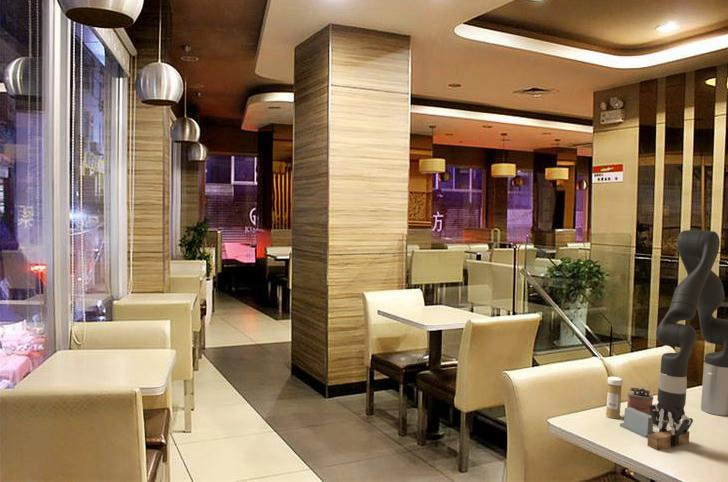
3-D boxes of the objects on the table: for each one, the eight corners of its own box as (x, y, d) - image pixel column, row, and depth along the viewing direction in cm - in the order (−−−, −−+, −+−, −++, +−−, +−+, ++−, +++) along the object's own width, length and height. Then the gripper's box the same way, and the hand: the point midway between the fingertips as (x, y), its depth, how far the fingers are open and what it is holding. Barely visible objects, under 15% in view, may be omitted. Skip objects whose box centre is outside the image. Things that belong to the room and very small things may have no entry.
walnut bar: (679, 438, 181) (680, 427, 180) (688, 442, 178) (689, 431, 177) (647, 446, 175) (648, 434, 175) (656, 450, 172) (657, 438, 172)
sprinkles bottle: (622, 417, 197) (625, 379, 196) (614, 419, 195) (617, 381, 194) (610, 413, 201) (613, 375, 200) (602, 415, 199) (605, 377, 198)
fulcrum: (630, 423, 192) (631, 406, 191) (656, 435, 183) (658, 417, 182) (619, 425, 190) (620, 408, 189) (645, 437, 181) (646, 419, 180)
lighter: (651, 416, 199) (653, 388, 198) (652, 419, 196) (654, 391, 195) (625, 412, 202) (627, 384, 201) (626, 416, 199) (628, 387, 198)
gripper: (702, 394, 170) (697, 451, 171) (660, 380, 183) (656, 432, 184) (684, 397, 167) (680, 455, 168) (643, 382, 180) (639, 436, 181)
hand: (668, 443), depth 176 cm, fingers closed on walnut bar, 3 cm apart
